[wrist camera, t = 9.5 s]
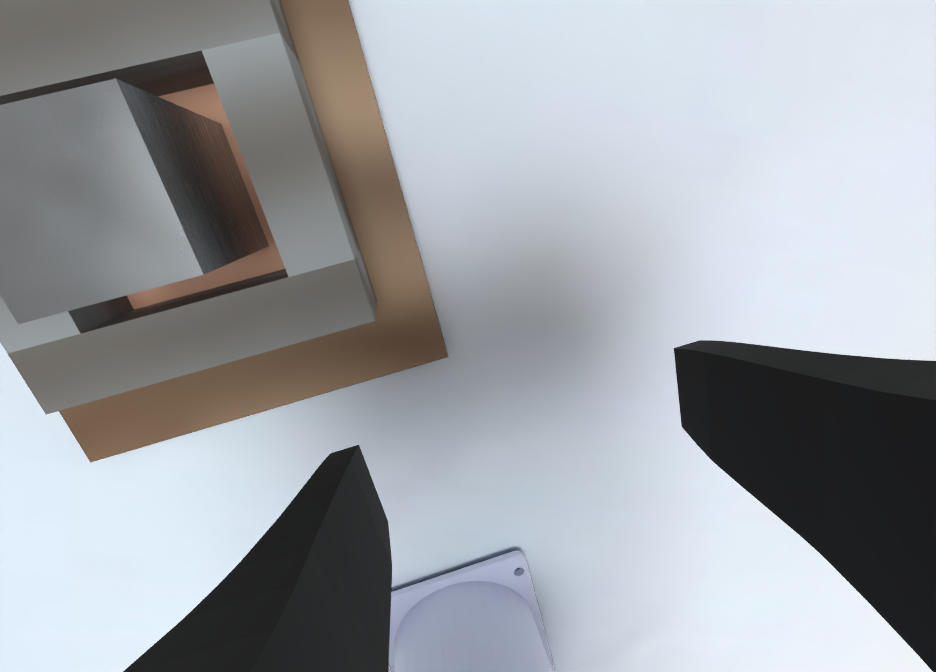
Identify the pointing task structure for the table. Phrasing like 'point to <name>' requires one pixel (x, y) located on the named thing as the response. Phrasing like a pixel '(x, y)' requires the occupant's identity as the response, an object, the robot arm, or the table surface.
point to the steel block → (113, 198)
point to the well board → (277, 207)
